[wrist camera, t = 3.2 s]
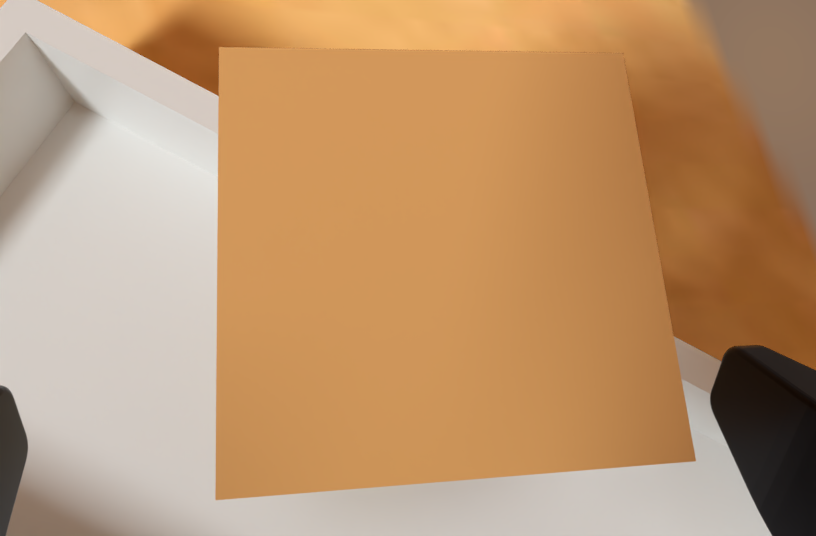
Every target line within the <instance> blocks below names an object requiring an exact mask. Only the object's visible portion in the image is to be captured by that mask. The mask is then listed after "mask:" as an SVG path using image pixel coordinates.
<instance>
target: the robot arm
mask: <svg viewBox="0 0 816 536" xmlns="http://www.w3.org/2000/svg"><path fill="white" fill-rule="evenodd" d="M710 405H711V409H712V412H713V414H714V417H715V419H716V421H717V423H718V425H719V428H720V430H721V432H722V434H723V436H724V438H725V441H726V443H727V445H728V447H729V449H730V452H731V454H732V456H733V458H734V460H735V462H736V465H737V467H738V469H739V471H740V473H741V476H742V478H743V480H744V482H745V484H746V487H747V489H748V491H749V493H750V495H751V497H752V499H753V501H754V503H755V505H756V507H757V509H758V512H759V513H760V515H761V517H762V519H763V521H764V523H765V524H766V526H767V528H768V530H769V532H770V533H771V535H772V536H816V370H813V369H811V368H809V367H807V366H805V365H803V364H801V363H798V362H796V361H794V360H792V359H790V358H788V357H786V356H783V355H781V354H779V353H777V352H775V351H773V350H771V349H768V348H766V347H764V346H760V345H747V346H734V347H731V348H729V349H728V350H727V351H726V352H725V354H724V356H723V359H722V362H721V365H720V368H719V370H718V373H717V376H716V379H715V382H714V384H713V387H712V390H711V394H710ZM27 454H28V440H27V435H26V432H25V429H24V426H23V423H22V420H21V417H20V414H19V411H18V408H17V405H16V402H15V399H14V397H13V394H12V392H11V391H10V390H9V389H8V388H7V387H5V386H2V385H0V536H6V533H7V530H8V526H9V522H10V518H11V515H12V511H13V507H14V504H15V500H16V496H17V493H18V489H19V485H20V482H21V478H22V474H23V471H24V467H25V463H26V459H27Z"/></svg>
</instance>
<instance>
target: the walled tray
mask: <svg viewBox="0 0 816 536" xmlns="http://www.w3.org/2000/svg"><path fill="white" fill-rule="evenodd" d="M218 99H219V96H217V95H215V94H214V93H212V92H210V91H208V90H206V89H204V88H202V87H200V86H198V85H197V84H195V83H193V82H191V81H189V80H187V79H185V78H183V77H181V76H179V75H178V74H176V73H174V72H172V71H170V70H168V69H166V68H164V67H162V66H160V65H159V64H157V63H155V62H153V61H151V60H149V59H147V58H145V57H143V56H142V55H140V54H138V53H136V52H134V51H132V50H130V49H128V48H126V47H124V46H123V45H121V44H119V43H117V42H115V41H113V40H111V39H109V38H107V37H106V36H104V35H102V34H100V33H98V32H96V31H94V30H92V29H90V28H88V27H87V26H85V25H83V24H81V23H79V22H77V21H75V20H73V19H71V18H69V17H68V16H66V15H64V14H62V13H60V12H58V11H56V10H54V9H52V8H51V7H49V6H47V5H45V4H43V3H41V2H39V1H37V0H7V1H6V2H5V4H4V5H3V6H2V7H1V8H0V385H2V386H5V387H7V388H8V389H9V390H10V391H11V392H12V394H13V397H14V399H15V402H16V405H17V408H18V411H19V414H20V417H21V420H22V423H23V426H24V429H25V432H26V435H27V440H28V454H27V459H26V463H25V467H24V471H23V474H22V478H21V482H20V485H19V489H18V493H17V496H16V500H15V504H14V507H13V511H12V515H11V518H10V522H9V526H8V530H7V533H6V536H772V535H771V533H770V532H769V530H768V528H767V526H766V524H765V523H764V521H763V519H762V517H761V515H760V513H759V512H758V509H757V507H756V505H755V503H754V501H753V499H752V497H751V495H750V493H749V491H748V489H747V487H746V484H745V482H744V480H743V478H742V476H741V473H740V471H739V469H738V467H737V465H736V462H735V460H734V458H733V456H732V454H731V452H730V449H729V447H728V445H727V443H726V441H725V438H724V436H723V434H722V432H721V430H720V428H719V425H718V423H717V421H716V419H715V417H714V414H713V412H712V409H711V405H710V394H711V390H712V387H713V384H714V382H715V379H716V376H717V373H718V370H719V368H720V365H721V362H722V361H720V360H718V359H716V358H714V357H712V356H710V355H708V354H707V353H705V352H703V351H701V350H699V349H697V348H695V347H693V346H691V345H690V344H688V343H686V342H684V341H682V340H680V339H678V338H676V337H674V340H675V346H676V351H677V357H678V363H679V368H680V374H681V379H682V385H683V391H684V396H685V402H686V407H687V413H688V419H689V424H690V430H691V435H692V441H693V447H694V452H695V458H696V461H693V462H681V463H669V464H656V465H644V466H632V467H619V468H607V469H595V470H582V471H570V472H558V473H545V474H533V475H521V476H508V477H496V478H484V479H472V480H459V481H447V482H435V483H422V484H410V485H398V486H385V487H373V488H361V489H348V490H336V491H324V492H311V493H299V494H287V495H274V496H262V497H250V498H237V499H225V500H215V487H216V358H217V229H218Z"/></svg>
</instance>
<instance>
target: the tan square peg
mask: <svg viewBox="0 0 816 536" xmlns="http://www.w3.org/2000/svg"><path fill="white" fill-rule="evenodd" d="M693 461H696V458H695V452H694V447H693V441H692V435H691V430H690V424H689V419H688V413H687V407H686V402H685V396H684V391H683V385H682V379H681V374H680V368H679V363H678V357H677V351H676V346H675V340H674V335H673V329H672V323H671V318H670V312H669V307H668V301H667V295H666V290H665V284H664V279H663V273H662V267H661V262H660V256H659V251H658V245H657V239H656V234H655V228H654V223H653V217H652V211H651V206H650V200H649V195H648V189H647V183H646V178H645V172H644V167H643V161H642V155H641V150H640V144H639V139H638V133H637V127H636V122H635V116H634V111H633V105H632V99H631V94H630V88H629V83H628V77H627V71H626V66H625V60H624V55H623V53H585V52H519V51H452V50H386V49H319V48H252V47H219V99H218V229H217V358H216V487H215V500H225V499H237V498H250V497H262V496H274V495H287V494H299V493H311V492H324V491H336V490H348V489H361V488H373V487H385V486H398V485H410V484H422V483H435V482H447V481H459V480H472V479H484V478H496V477H508V476H521V475H533V474H545V473H558V472H570V471H582V470H595V469H607V468H619V467H632V466H644V465H656V464H669V463H681V462H693Z"/></svg>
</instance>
